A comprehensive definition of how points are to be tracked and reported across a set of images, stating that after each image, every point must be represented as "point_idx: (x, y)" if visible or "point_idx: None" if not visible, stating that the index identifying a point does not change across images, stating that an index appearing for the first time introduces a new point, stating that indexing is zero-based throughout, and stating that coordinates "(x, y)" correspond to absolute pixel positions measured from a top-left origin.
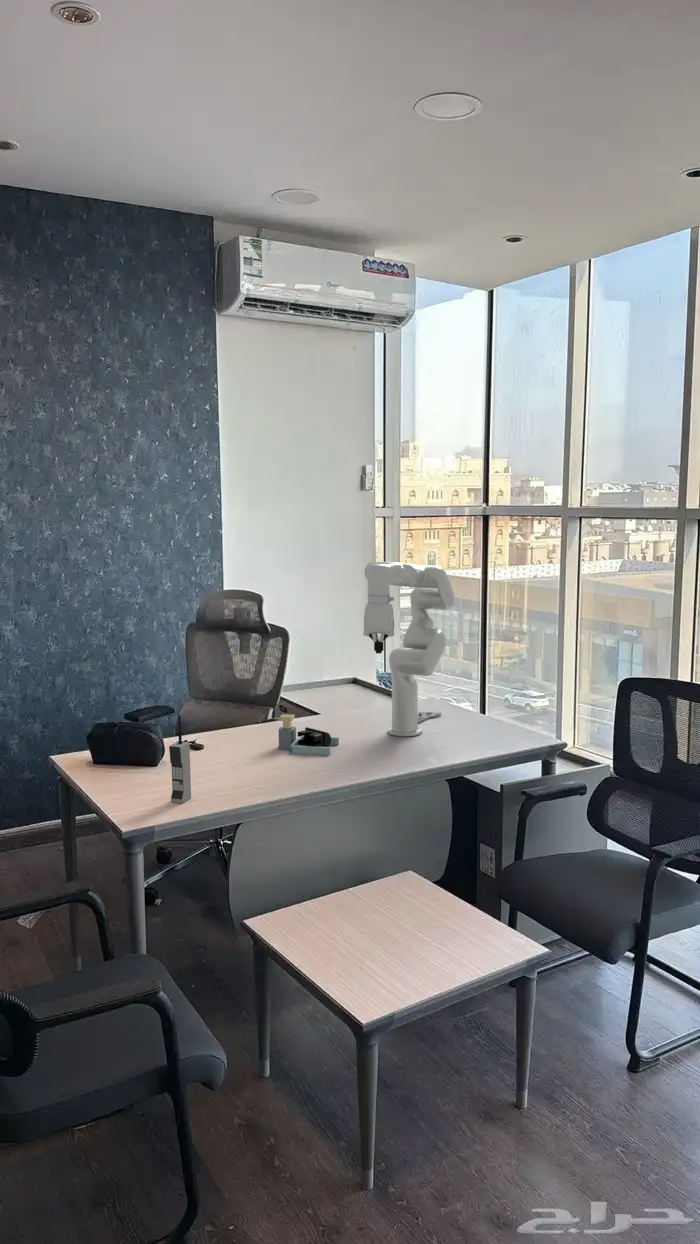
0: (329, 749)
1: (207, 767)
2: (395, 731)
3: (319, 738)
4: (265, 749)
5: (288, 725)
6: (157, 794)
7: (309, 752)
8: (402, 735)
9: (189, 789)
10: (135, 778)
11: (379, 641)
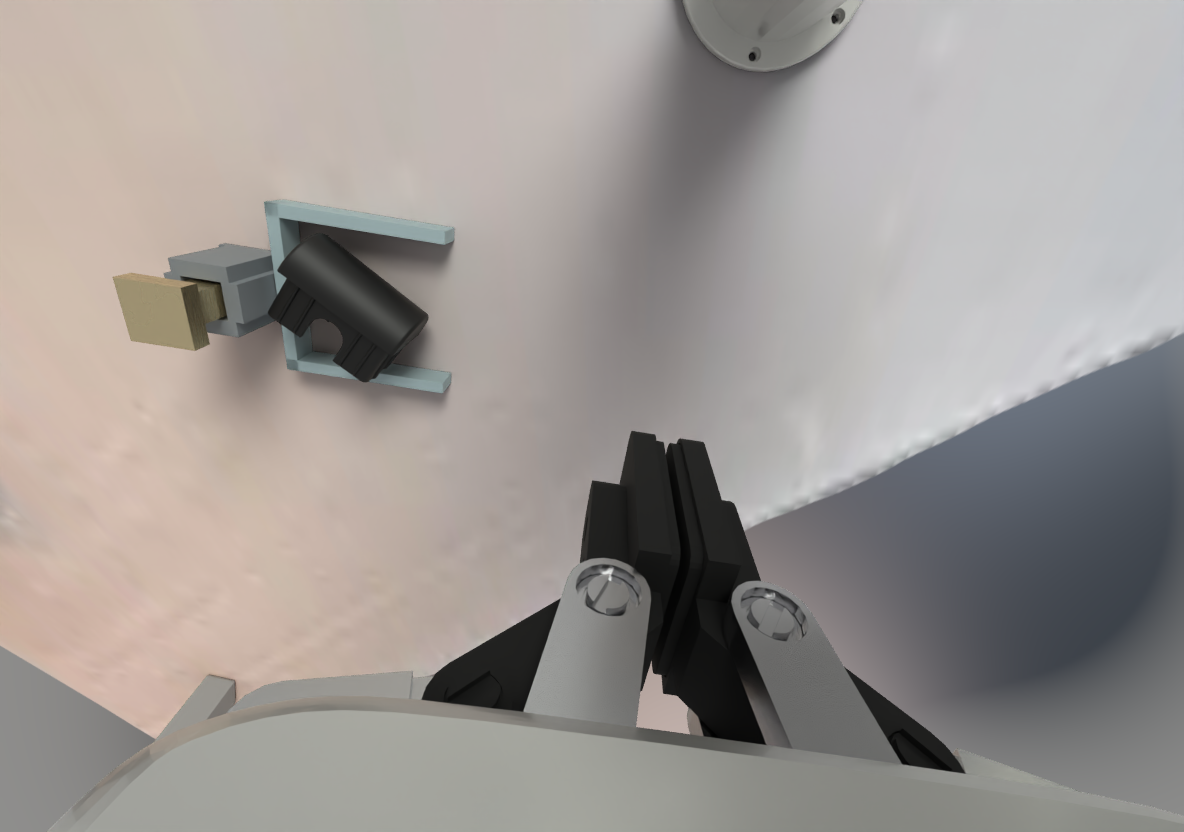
0: (443, 390)
1: (129, 500)
2: (719, 15)
3: (383, 365)
4: None
5: (205, 320)
6: (151, 659)
7: None
8: (749, 70)
9: (221, 703)
10: (17, 575)
11: (680, 671)
